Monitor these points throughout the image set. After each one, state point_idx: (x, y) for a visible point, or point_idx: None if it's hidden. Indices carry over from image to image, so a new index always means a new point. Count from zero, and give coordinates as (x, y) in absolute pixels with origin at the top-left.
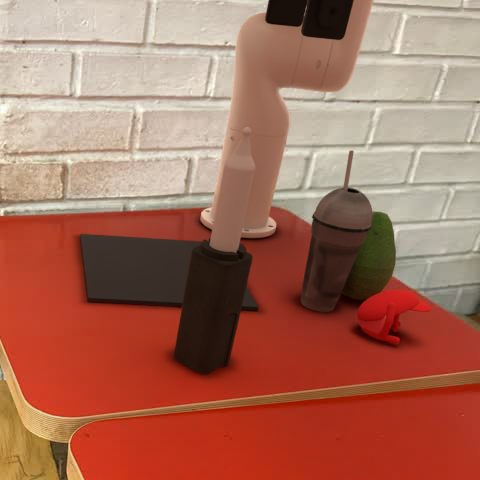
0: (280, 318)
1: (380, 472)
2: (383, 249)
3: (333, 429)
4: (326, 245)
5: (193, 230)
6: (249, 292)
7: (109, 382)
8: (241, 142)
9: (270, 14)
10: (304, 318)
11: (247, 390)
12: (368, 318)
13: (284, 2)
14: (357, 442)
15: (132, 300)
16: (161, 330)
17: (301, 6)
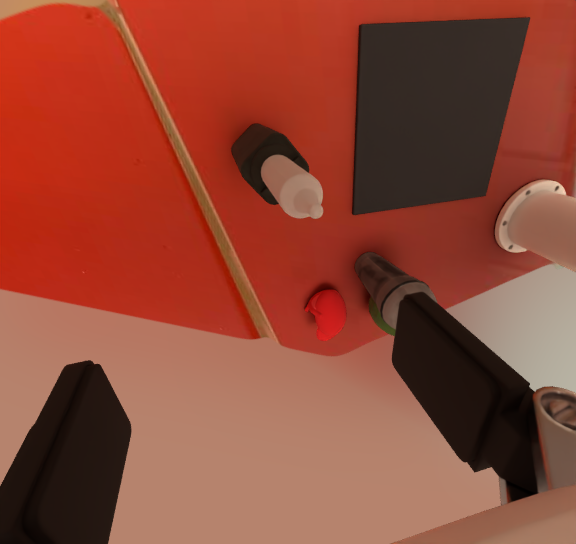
0: (340, 231)
1: (131, 267)
2: (388, 327)
3: (176, 246)
4: (382, 284)
5: (523, 169)
6: (381, 210)
7: (193, 47)
8: (305, 200)
9: (411, 309)
10: (342, 251)
11: (214, 187)
12: (319, 296)
13: (427, 356)
14: (164, 259)
15: (358, 83)
16: (306, 114)
17: (415, 387)
